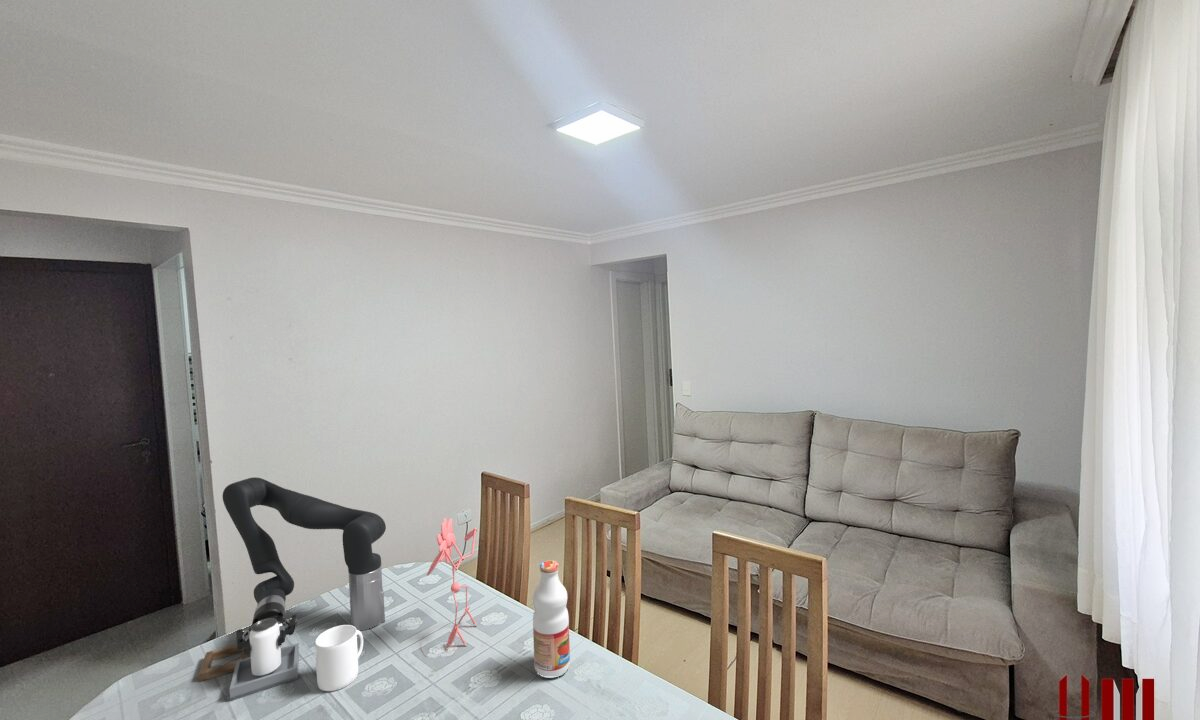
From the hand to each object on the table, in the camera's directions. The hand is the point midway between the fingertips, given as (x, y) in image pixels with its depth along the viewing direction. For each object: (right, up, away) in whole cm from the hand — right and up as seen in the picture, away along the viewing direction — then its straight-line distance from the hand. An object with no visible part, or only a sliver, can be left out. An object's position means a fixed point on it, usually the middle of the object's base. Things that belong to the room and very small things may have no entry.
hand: (264, 646), depth 123 cm
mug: (+19, -9, +2) cm, 21 cm away
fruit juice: (+74, -7, +3) cm, 75 cm away
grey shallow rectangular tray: (-1, -9, +2) cm, 9 cm away
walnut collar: (-16, -9, +8) cm, 20 cm away
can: (-1, -7, +2) cm, 8 cm away
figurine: (+42, -7, +18) cm, 46 cm away
